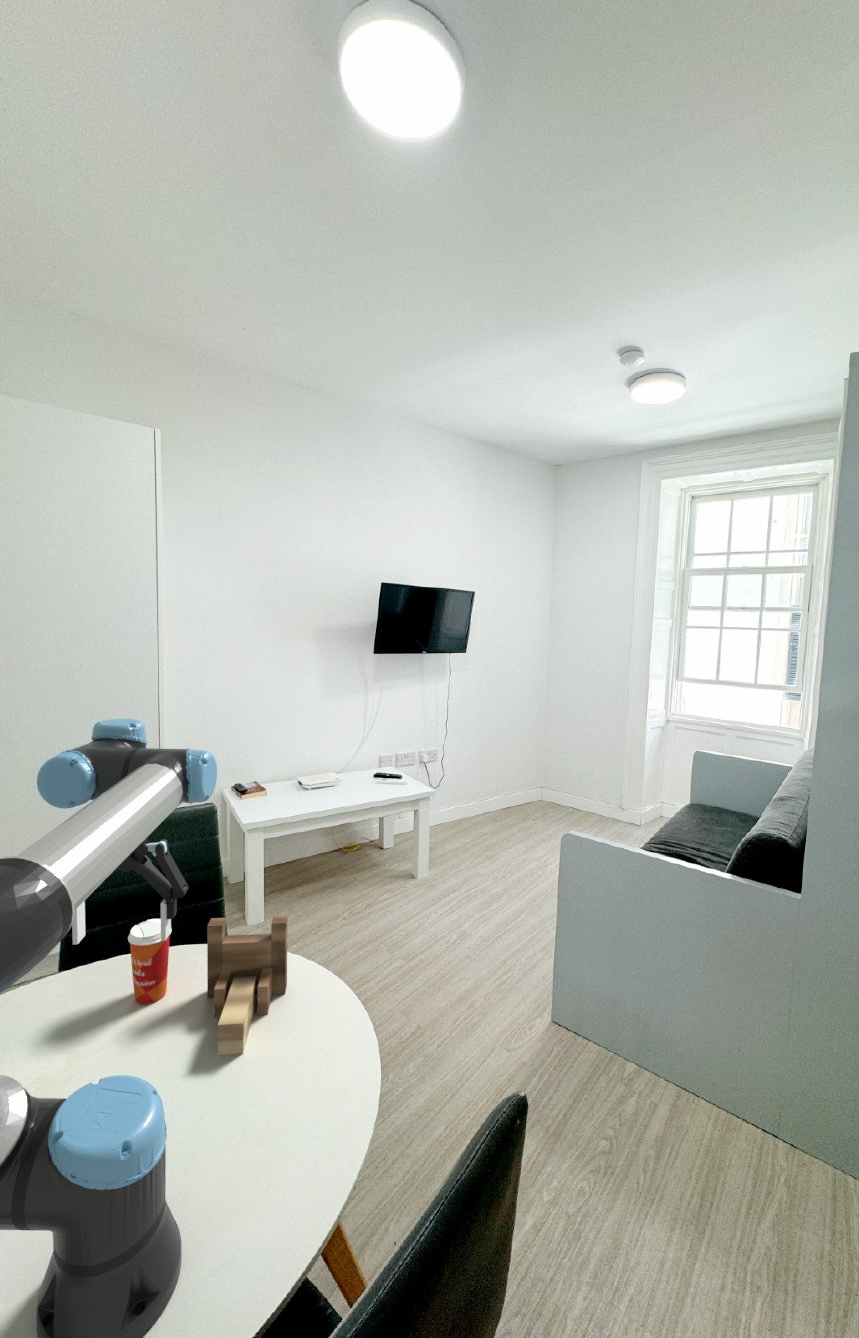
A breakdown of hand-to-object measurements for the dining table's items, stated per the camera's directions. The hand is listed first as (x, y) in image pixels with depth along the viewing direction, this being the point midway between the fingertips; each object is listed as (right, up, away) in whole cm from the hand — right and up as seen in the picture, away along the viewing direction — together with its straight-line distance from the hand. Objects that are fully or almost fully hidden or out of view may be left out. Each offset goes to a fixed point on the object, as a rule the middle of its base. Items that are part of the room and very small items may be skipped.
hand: (123, 938), depth 94 cm
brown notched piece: (+12, -25, +25) cm, 37 cm away
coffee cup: (-8, -25, +26) cm, 36 cm away
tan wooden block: (+13, -26, +17) cm, 34 cm away
